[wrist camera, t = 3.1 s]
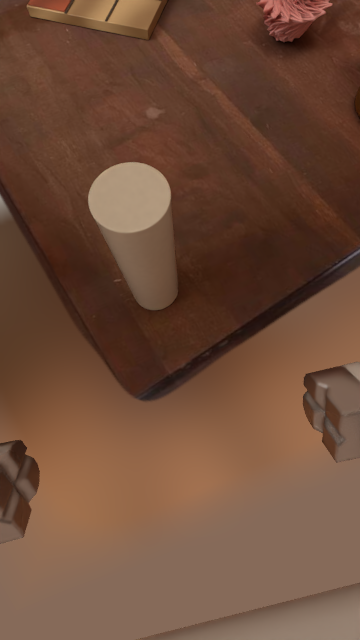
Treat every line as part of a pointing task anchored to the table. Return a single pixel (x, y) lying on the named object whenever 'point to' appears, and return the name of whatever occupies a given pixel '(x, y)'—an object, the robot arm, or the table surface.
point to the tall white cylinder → (138, 230)
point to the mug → (357, 102)
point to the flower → (291, 16)
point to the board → (103, 14)
